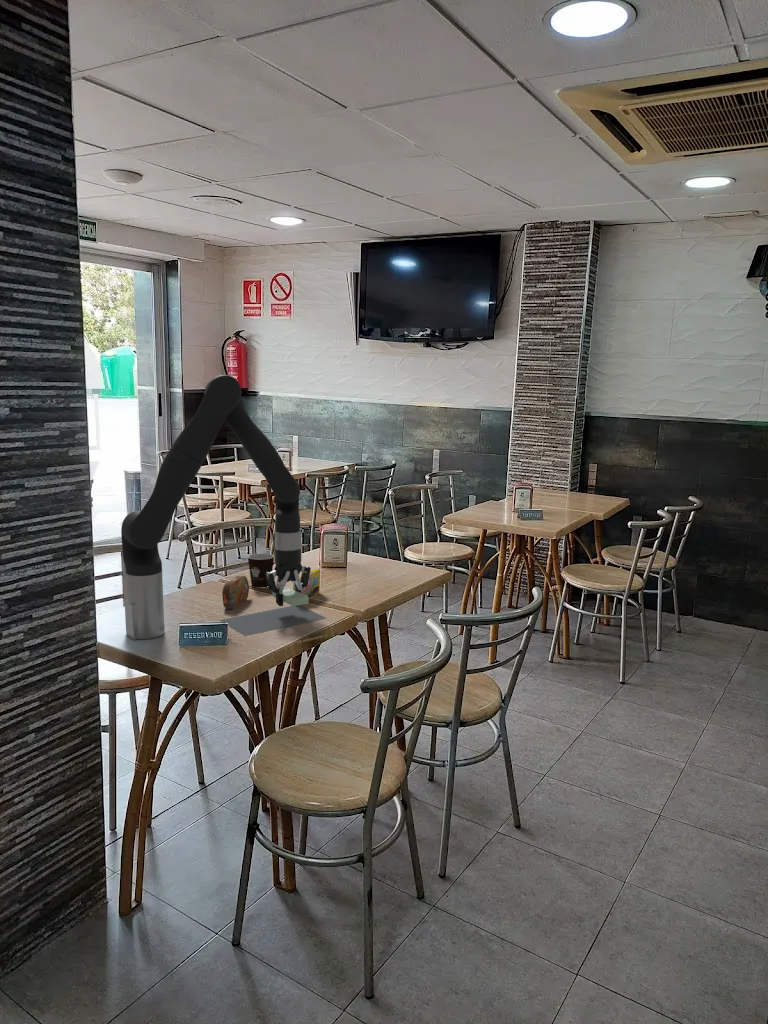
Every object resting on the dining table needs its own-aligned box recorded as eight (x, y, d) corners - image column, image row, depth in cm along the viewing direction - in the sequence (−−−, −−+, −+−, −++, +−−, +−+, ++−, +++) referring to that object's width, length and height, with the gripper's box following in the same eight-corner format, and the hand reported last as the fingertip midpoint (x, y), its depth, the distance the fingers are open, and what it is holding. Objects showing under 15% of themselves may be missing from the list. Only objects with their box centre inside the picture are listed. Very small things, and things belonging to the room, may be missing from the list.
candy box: (298, 607, 222) (298, 580, 221) (292, 606, 223) (291, 580, 221) (320, 593, 237) (320, 568, 236) (314, 592, 238) (314, 567, 237)
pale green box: (293, 599, 203) (272, 589, 213) (293, 606, 204) (272, 596, 213) (308, 596, 206) (287, 586, 216) (308, 603, 207) (287, 593, 216)
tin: (230, 613, 215) (230, 585, 214) (220, 612, 216) (220, 585, 214) (250, 599, 230) (249, 573, 228) (240, 598, 230) (240, 572, 229)
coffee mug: (243, 585, 245) (242, 556, 244) (264, 580, 251) (264, 552, 249) (262, 592, 237) (262, 562, 235) (284, 587, 243) (284, 558, 241)
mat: (244, 638, 194) (244, 635, 194) (219, 622, 207) (219, 620, 207) (327, 620, 210) (327, 618, 210) (298, 606, 222) (298, 604, 222)
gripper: (302, 541, 215) (303, 596, 218) (259, 547, 206) (260, 605, 209) (316, 545, 209) (316, 602, 212) (272, 552, 201) (273, 611, 204)
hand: (288, 603), depth 211 cm, fingers closed on pale green box, 5 cm apart
